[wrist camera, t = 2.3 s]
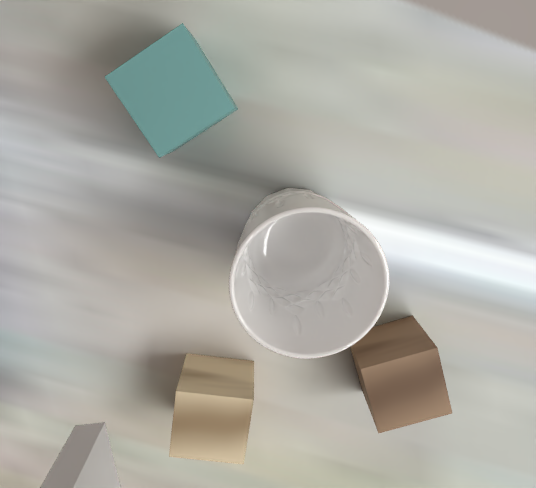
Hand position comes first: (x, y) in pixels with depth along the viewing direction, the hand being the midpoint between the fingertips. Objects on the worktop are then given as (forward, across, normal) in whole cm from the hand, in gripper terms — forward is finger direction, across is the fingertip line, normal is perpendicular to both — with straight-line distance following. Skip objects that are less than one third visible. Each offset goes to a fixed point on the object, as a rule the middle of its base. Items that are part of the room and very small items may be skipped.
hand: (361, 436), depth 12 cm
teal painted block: (+21, +6, -10) cm, 24 cm away
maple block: (+21, +7, +11) cm, 25 cm away
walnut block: (+21, -6, +10) cm, 24 cm away
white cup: (+22, 0, 0) cm, 22 cm away
